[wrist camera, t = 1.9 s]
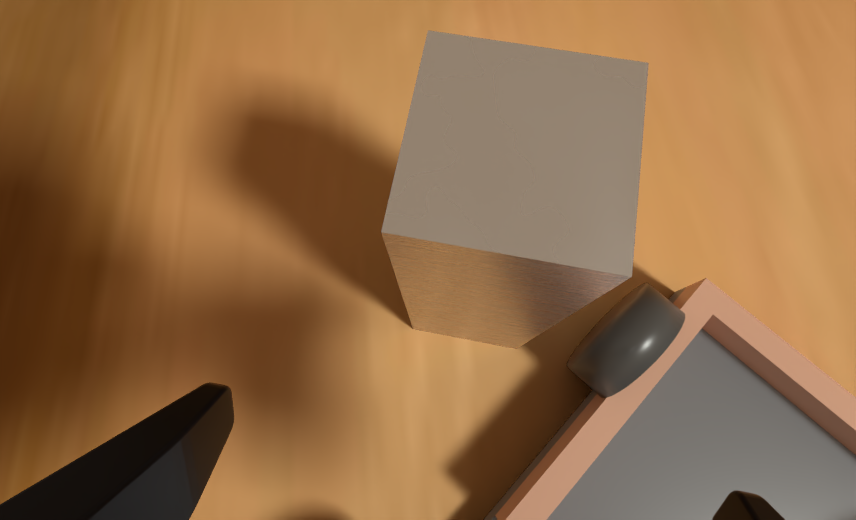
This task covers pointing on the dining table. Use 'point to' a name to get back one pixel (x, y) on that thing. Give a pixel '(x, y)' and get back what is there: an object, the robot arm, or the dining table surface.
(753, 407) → the chassis
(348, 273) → the dining table surface
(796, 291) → the dining table surface
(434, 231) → the block
